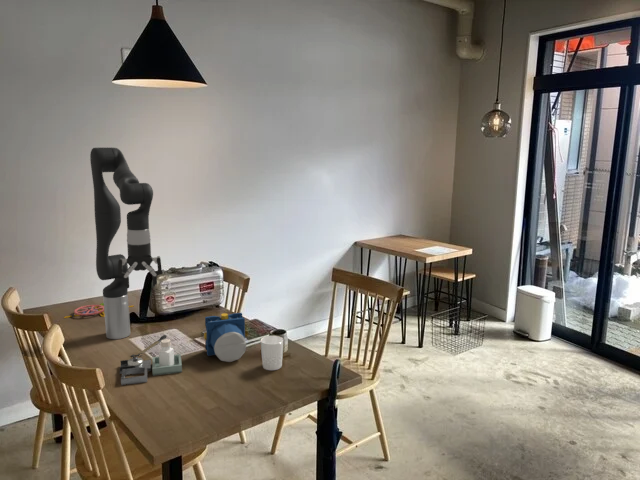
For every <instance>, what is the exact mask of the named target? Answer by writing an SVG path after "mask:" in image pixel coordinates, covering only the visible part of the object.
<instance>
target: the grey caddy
mask: <svg viewBox="0 0 640 480" xmlns="http://www.w3.org/2000/svg"><path fill="white" fill-rule="evenodd" d="M138 357H139V356H135V357H133V358H132V357H131V358H129V359H124V360H120V365H119V369H118V370H119V375H120V374H122V375H121V377H120V384H121V386H127V385H134V384H141V383H142V384H143V383H147V382H148V374H149V372H151V371H152V359H146V360H144V359H143V358H142V357H140V358H138ZM148 371H149V372H148ZM130 374H132V375H136V376H131V377H129V376H130ZM138 374H144V375H139V376H137V375H138ZM126 376H128V377H126ZM126 384H127V385H126Z"/></svg>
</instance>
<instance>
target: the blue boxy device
mask: <svg viewBox="0 0 640 480" xmlns="http://www.w3.org/2000/svg"><path fill="white" fill-rule="evenodd" d="M220 315H221V316H219V315H218V316H217V315H211V316H210V315H209V316H205V317H204V319H205V320H204V323H205V325H204V326H205V328H206V330H205V332H203V338H204V340H205V342H204V343H205V346H204V347H205V350H206V354H207V357H210V356H216V357H217V358H218V360H220V361H222V362H226V363H231V362H234V361H237V360H239V359H241V357H242V356H243V355H244V354H245V352H246V349H247V341H246V329H245V328H246V324H245V323H246V320H245V317H243V313H242V312H235V313H230V314H228V313H226V312H223V313H221V314H220Z"/></svg>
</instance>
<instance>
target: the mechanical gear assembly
mask: <svg viewBox="0 0 640 480" xmlns="http://www.w3.org/2000/svg"><path fill="white" fill-rule="evenodd" d="M134 306H135V305H129V308H133V307H134ZM73 312H74V313H71V315H67V316H64V317H63V318H64V319H69V318H75V317H80V316H93V315H97V314H99V315H100V317H102V318H105V313H104V302H102V303H101V302H100V304H88V305H82V306H79V307H77V308H75V309H73Z"/></svg>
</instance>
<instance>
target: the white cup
mask: <svg viewBox="0 0 640 480" xmlns="http://www.w3.org/2000/svg"><path fill="white" fill-rule="evenodd" d="M260 350H261V351H260V352H261V362H262V368H263V369H264V370H266V371H277V370H279V369H281V368H282V367H283V355H284V338H283V337H282V336H279V335H266V336H263V337H261V339H260Z"/></svg>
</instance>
